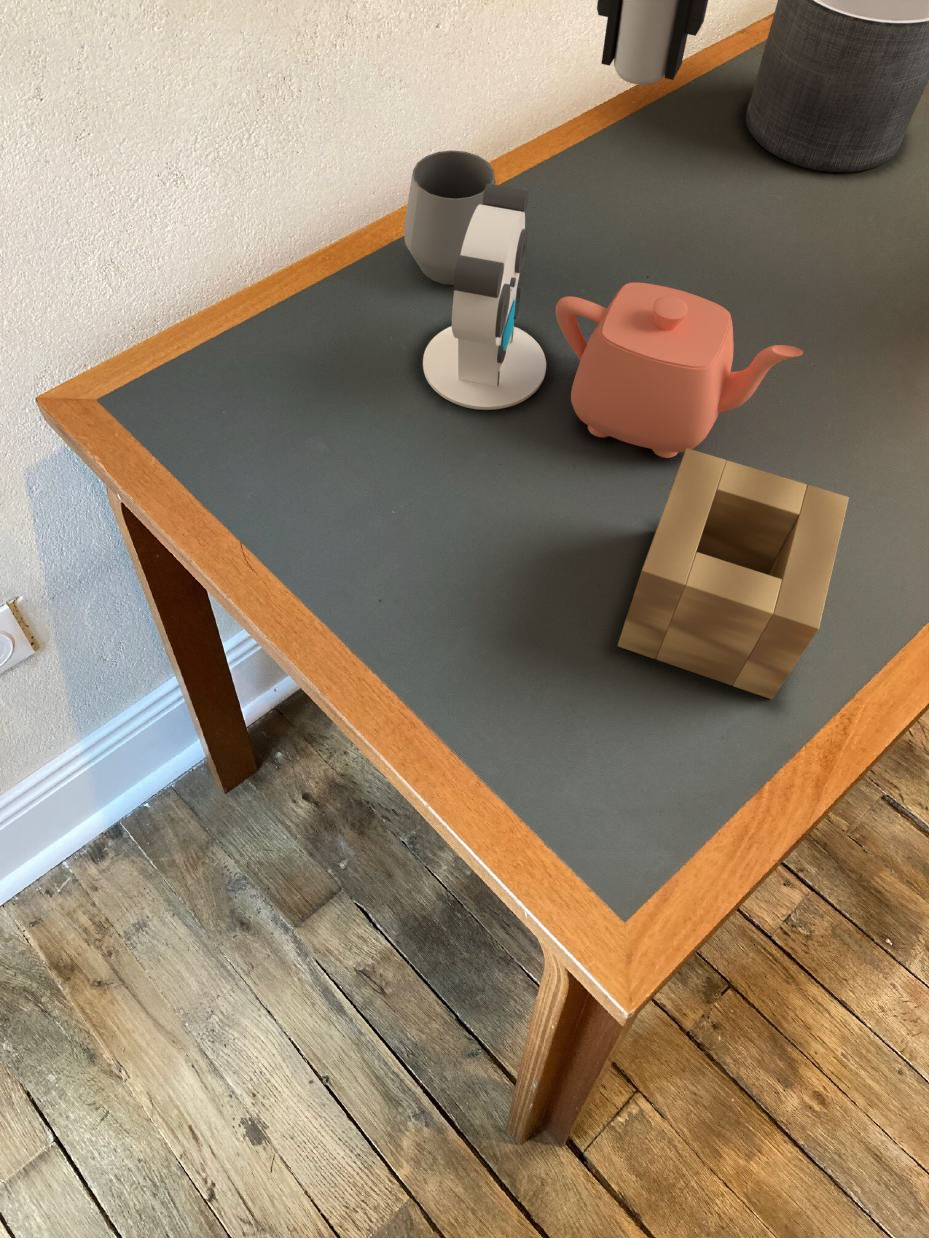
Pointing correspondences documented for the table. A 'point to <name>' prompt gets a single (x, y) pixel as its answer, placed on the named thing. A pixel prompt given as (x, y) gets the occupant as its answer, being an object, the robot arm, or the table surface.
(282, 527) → the table surface
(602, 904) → the table surface
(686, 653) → the wooden box
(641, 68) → the beverage can
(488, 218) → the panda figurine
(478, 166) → the cup
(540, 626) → the table surface
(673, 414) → the teapot
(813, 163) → the planter
